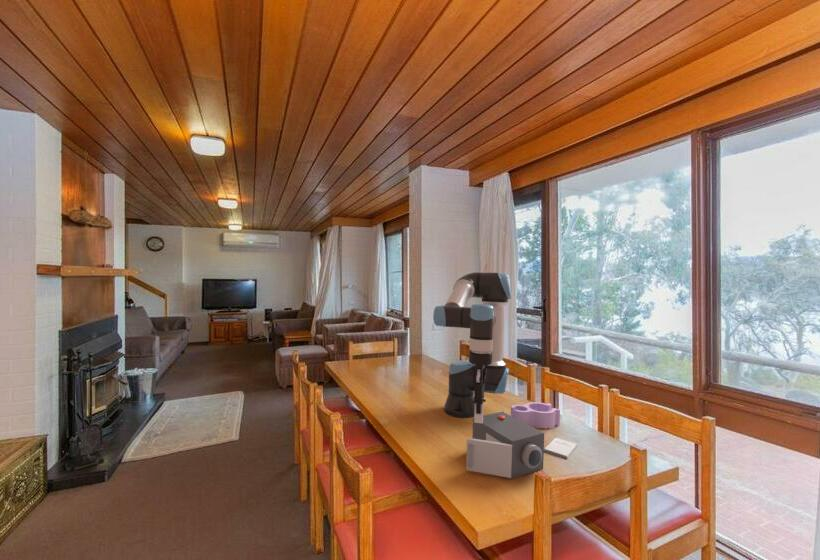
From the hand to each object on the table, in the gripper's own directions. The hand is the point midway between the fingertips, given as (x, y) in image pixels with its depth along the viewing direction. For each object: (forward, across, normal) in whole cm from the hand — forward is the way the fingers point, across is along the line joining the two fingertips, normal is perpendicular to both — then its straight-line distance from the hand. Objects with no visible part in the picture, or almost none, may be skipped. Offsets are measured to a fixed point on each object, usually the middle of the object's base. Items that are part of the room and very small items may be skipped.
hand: (478, 422), depth 120 cm
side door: (+14, +5, +4) cm, 15 cm away
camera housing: (+15, -8, +10) cm, 19 cm away
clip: (+15, -45, +19) cm, 51 cm away
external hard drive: (+16, -23, +28) cm, 40 cm away
